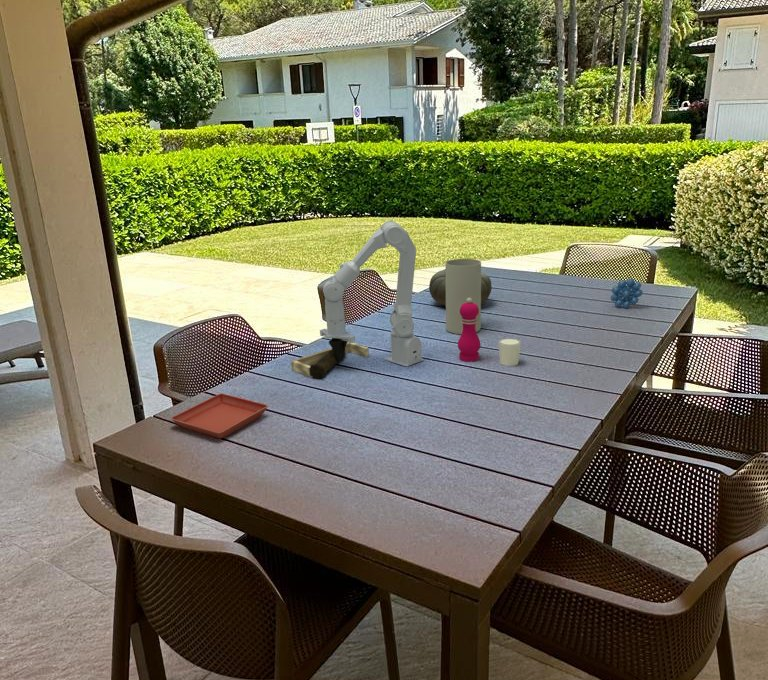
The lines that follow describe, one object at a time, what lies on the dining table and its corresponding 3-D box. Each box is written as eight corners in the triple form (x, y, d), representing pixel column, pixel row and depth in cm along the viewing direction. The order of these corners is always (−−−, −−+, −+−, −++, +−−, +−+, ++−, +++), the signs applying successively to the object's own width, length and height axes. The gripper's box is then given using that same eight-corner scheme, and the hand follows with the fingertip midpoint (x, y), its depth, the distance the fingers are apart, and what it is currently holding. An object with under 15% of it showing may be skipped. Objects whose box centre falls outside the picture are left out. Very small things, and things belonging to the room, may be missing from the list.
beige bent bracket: (369, 356, 213) (368, 347, 212) (309, 376, 198) (308, 367, 197) (350, 350, 220) (350, 341, 219) (291, 369, 204) (291, 360, 203)
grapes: (641, 306, 257) (644, 276, 253) (641, 310, 251) (643, 280, 247) (610, 304, 261) (612, 275, 257) (609, 308, 255) (611, 278, 251)
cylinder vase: (441, 333, 233) (440, 265, 226) (451, 323, 244) (451, 258, 237) (475, 336, 229) (476, 266, 221) (484, 326, 240) (484, 259, 232)
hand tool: (323, 380, 195) (322, 362, 193) (309, 378, 197) (308, 361, 195) (354, 355, 215) (353, 339, 213) (341, 354, 217) (340, 338, 215)
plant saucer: (220, 444, 158) (219, 432, 157) (170, 429, 167) (169, 417, 166) (270, 416, 172) (269, 405, 171) (222, 403, 182) (220, 392, 181)
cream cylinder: (522, 360, 204) (523, 339, 202) (517, 367, 198) (517, 346, 196) (501, 358, 207) (501, 337, 205) (495, 365, 201) (495, 343, 199)
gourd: (449, 288, 286) (452, 251, 278) (499, 303, 274) (504, 265, 265) (417, 306, 268) (420, 268, 260) (470, 324, 256) (474, 284, 248)
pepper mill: (482, 355, 210) (483, 295, 204) (478, 363, 203) (478, 301, 197) (460, 353, 212) (460, 294, 206) (455, 361, 206) (455, 300, 199)
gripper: (310, 318, 203) (315, 359, 207) (341, 325, 193) (345, 368, 197) (327, 313, 208) (331, 353, 212) (358, 320, 198) (362, 362, 202)
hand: (339, 360), depth 205 cm, fingers closed, pressing on hand tool
